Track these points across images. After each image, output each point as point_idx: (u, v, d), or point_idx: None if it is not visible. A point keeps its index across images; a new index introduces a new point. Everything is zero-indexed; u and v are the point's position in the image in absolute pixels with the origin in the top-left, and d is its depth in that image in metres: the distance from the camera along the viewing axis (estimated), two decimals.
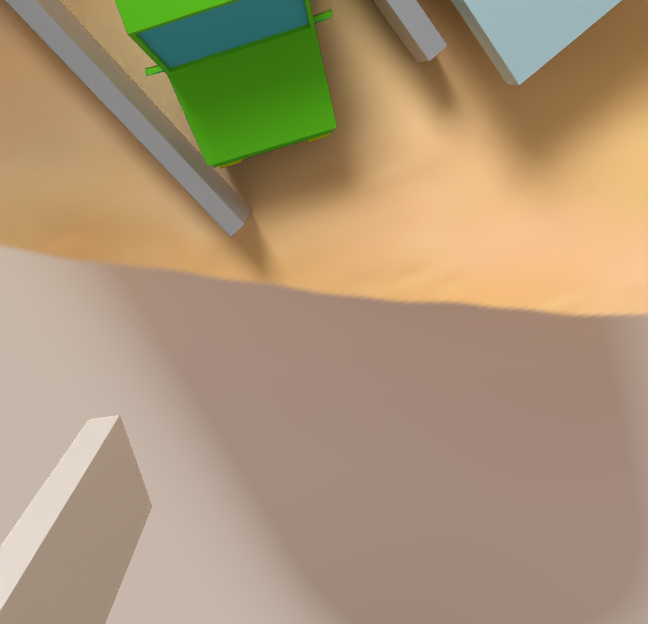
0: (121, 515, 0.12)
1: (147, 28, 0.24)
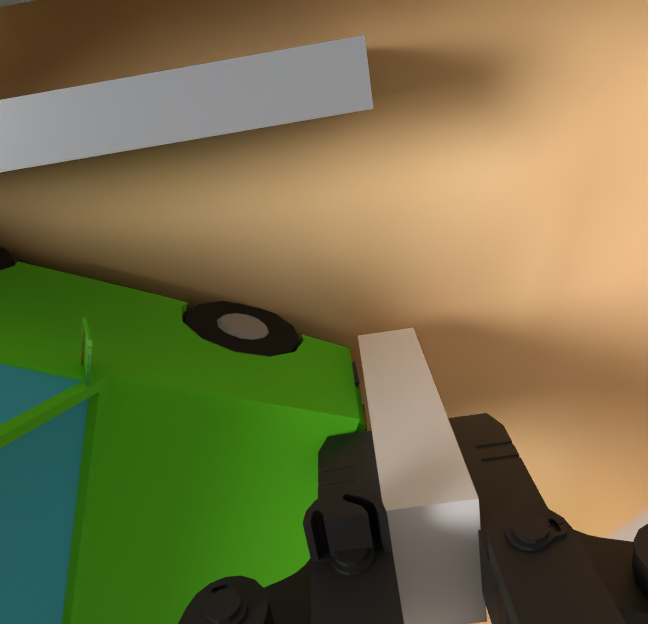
0: None
1: None
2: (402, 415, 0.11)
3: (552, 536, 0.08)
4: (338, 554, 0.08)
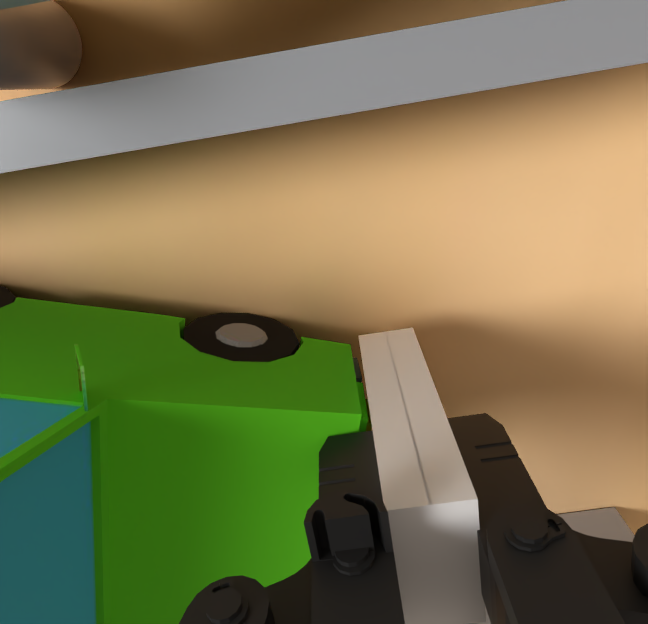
0: None
1: None
2: (401, 415, 0.11)
3: (551, 536, 0.08)
4: (339, 554, 0.08)
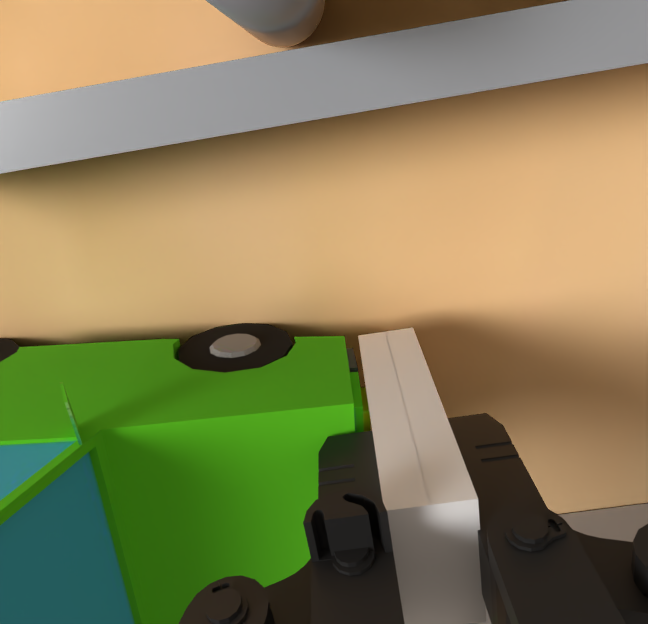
0: None
1: None
2: (401, 415, 0.11)
3: (551, 536, 0.08)
4: (339, 554, 0.08)
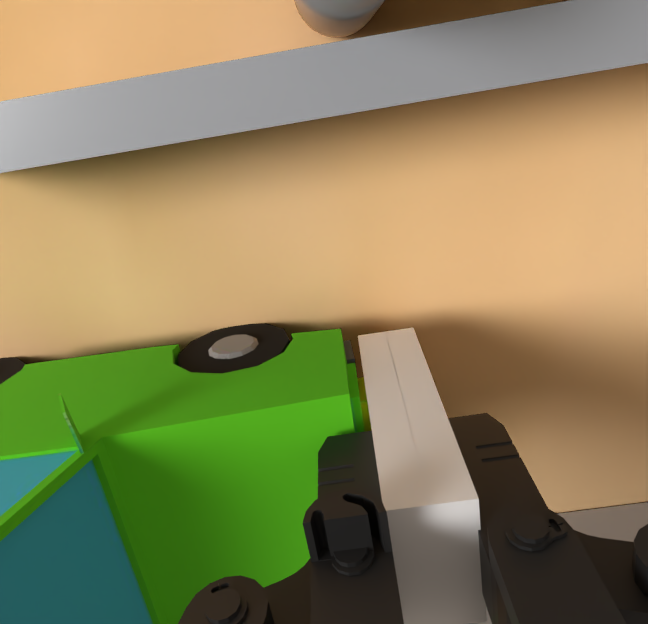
0: None
1: None
2: (402, 415, 0.11)
3: (552, 536, 0.08)
4: (338, 554, 0.08)
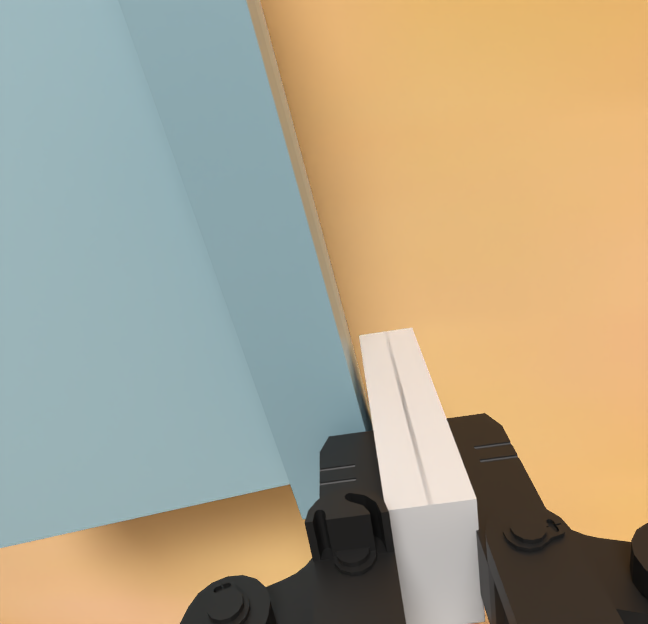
0: None
1: None
2: (400, 415, 0.11)
3: (550, 536, 0.08)
4: (340, 554, 0.08)
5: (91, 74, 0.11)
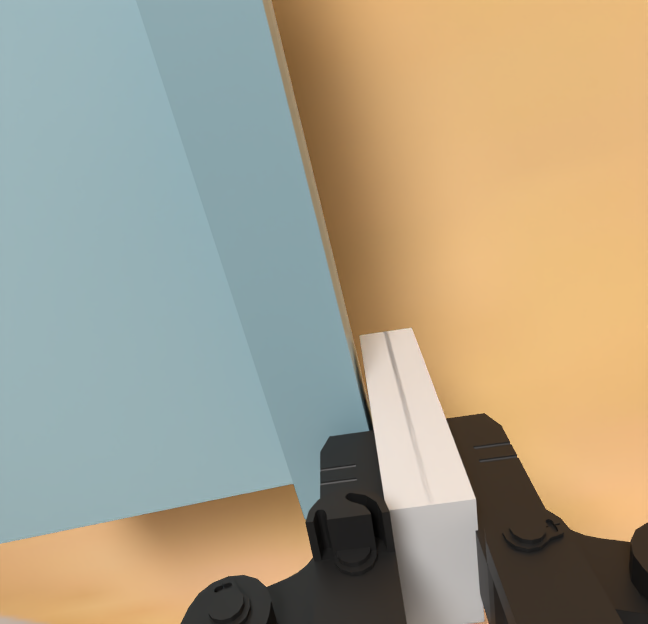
0: None
1: None
2: (400, 415, 0.11)
3: (549, 536, 0.08)
4: (341, 554, 0.08)
5: (105, 75, 0.11)
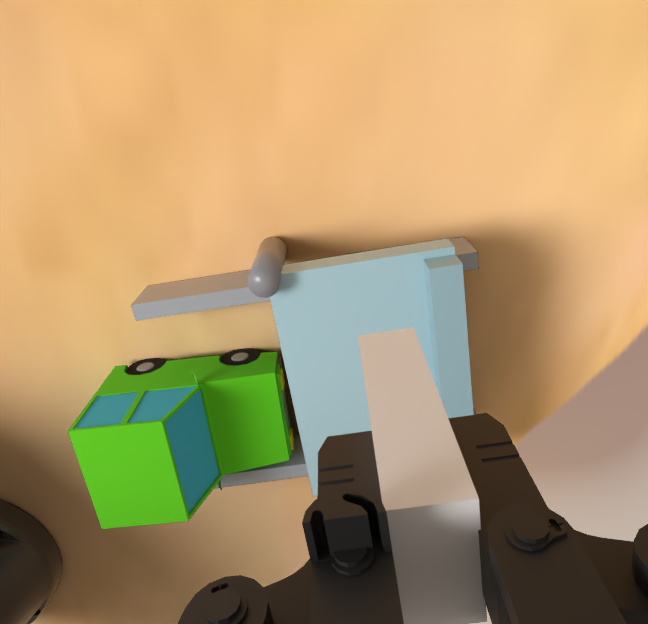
0: None
1: (185, 510, 0.38)
2: (402, 415, 0.11)
3: (552, 536, 0.08)
4: (338, 554, 0.08)
5: None
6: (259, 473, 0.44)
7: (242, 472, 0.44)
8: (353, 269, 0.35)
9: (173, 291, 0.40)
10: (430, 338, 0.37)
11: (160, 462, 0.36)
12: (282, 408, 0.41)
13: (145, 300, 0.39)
